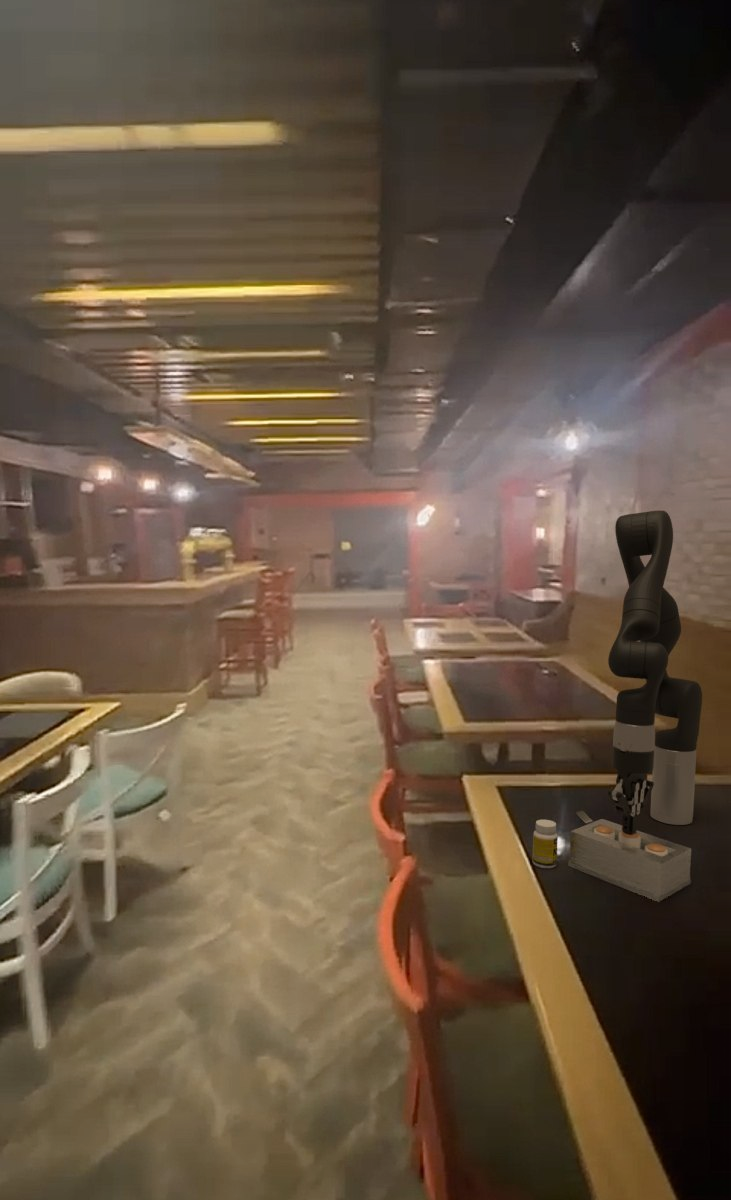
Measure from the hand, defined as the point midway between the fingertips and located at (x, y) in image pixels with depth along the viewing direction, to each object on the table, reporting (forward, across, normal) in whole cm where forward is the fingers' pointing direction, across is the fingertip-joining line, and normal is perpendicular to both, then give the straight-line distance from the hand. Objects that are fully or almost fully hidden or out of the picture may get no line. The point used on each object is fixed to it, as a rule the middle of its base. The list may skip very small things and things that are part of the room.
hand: (629, 832), depth 143 cm
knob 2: (+6, 0, 0) cm, 6 cm away
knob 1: (+7, 0, -5) cm, 9 cm away
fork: (+9, -18, -16) cm, 26 cm away
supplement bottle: (+9, +9, -13) cm, 18 cm away
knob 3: (+7, 0, +6) cm, 9 cm away
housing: (+8, 0, 0) cm, 8 cm away
